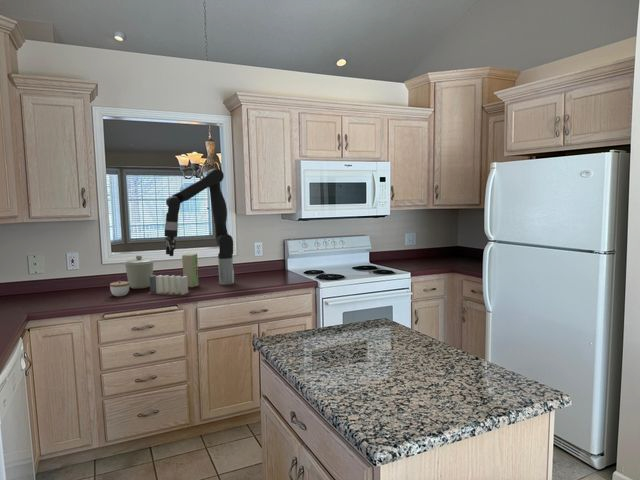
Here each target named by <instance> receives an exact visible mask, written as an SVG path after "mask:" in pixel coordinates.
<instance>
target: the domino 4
mask: <svg viewBox="0 0 640 480" xmlns="http://www.w3.org/2000/svg"><path fill="white" fill-rule="evenodd" d="M174 277H176V275H171V276H170V275H169V277H168V289H169V294H172V293H174V292H175V286H174Z"/></svg>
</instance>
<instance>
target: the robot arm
mask: <svg viewBox="0 0 640 480" xmlns="http://www.w3.org/2000/svg"><path fill="white" fill-rule="evenodd" d="M224 177H225V175H224V172H223V171H222V169H219V168H212V169H211V168H210V169H209V170H208V171H207V172H206V175H205V177H202V179H200V180H198V181H196V182H194V183H192V184H190V185H187V187H184V188H183V189H182V190H180V191H178V192H176V193H174V194H172V195H171V196H169V197H167V198H166V201H165V202H166V206H167V207H168V208H167V212H166V215H165V216H166V217H165V224H164V235H163V236H164V237H165V243H164V244H165V245H164V247H165V254H166V255H168V256H169V257H174V251H175V250H176V239H175V238H177V237H178V231H179V229H178V228H179V213H180V208H181V204H182V203H183V202H187V201H189V200H191V199H192V198H193V197H195V196H196V195H198V194H200V193H201V192H203V191H204V190H205V189H208V188H209V189H208V190H209V193H210V202H211V203H210V204H211V212H212V216H213V223H214V226H215V227H214V228H215V242H216V244H217V245H218V246H219V249H218V250H219V252H218V255H217V258H218V260H217V261H218V279H219V280H218V283H219V285H221V286H226V285H227V286H228V285H233V284H234V283H235V271H234V262H233V255H234V238H233V237H232V235H230V234H229V233H228V229H227V220H228V209H227V203H226V200H225V197H224V195H223V192H222V190H221V182H223V180H224Z"/></svg>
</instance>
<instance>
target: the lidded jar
mask: <svg viewBox="0 0 640 480" xmlns="http://www.w3.org/2000/svg"><path fill="white" fill-rule="evenodd" d="M109 289H110V292H111V294H112V295H113V296H115V297H123V296H127V294H129V292H130V286H129V282H128V280H127V281H123V280H122V281H121V280H120V279H119V280H118V281H115V282H111V283H110V284H109Z"/></svg>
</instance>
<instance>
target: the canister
mask: <svg viewBox="0 0 640 480" xmlns="http://www.w3.org/2000/svg"><path fill="white" fill-rule="evenodd" d="M154 263H155V260H152V259H150V258H143V256H142V255H141V254H137V255H136V256H135V258H134V259H130V260H126V261H125V262H124V263H123V265H124V266H125V270H126V276H127V277H126V278H127V282H129V288H131V289H135V290H137V289H147V288H150V276H153V275H154Z"/></svg>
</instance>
